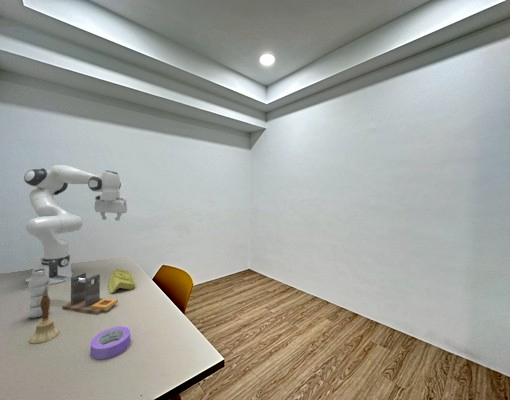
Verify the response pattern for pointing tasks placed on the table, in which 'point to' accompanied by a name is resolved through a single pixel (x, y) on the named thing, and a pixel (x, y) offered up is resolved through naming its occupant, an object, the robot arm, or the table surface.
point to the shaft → (54, 272)
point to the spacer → (105, 300)
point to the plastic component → (121, 280)
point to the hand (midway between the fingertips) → (110, 220)
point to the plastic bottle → (37, 292)
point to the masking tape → (114, 348)
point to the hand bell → (44, 324)
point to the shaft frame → (84, 295)
